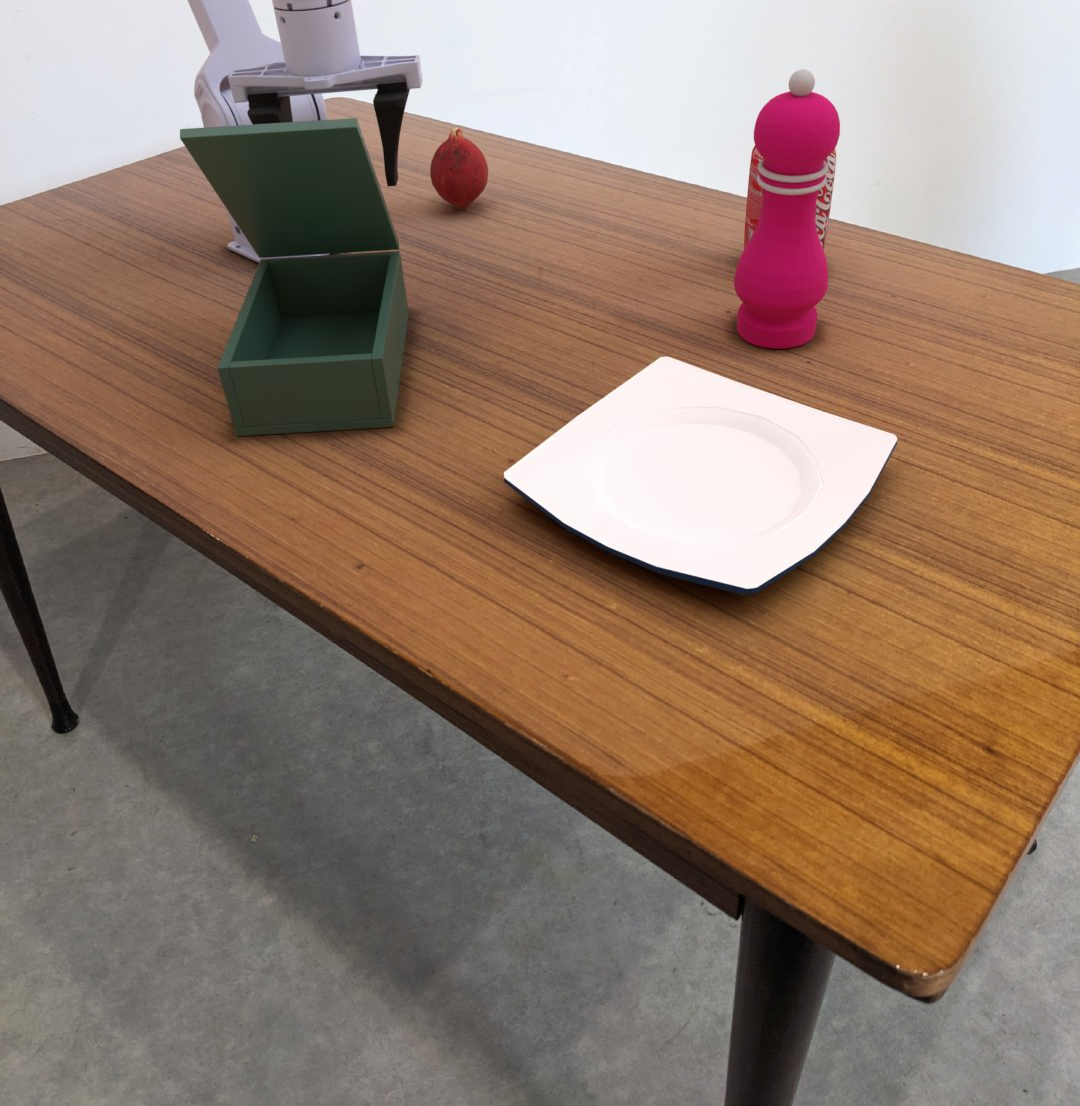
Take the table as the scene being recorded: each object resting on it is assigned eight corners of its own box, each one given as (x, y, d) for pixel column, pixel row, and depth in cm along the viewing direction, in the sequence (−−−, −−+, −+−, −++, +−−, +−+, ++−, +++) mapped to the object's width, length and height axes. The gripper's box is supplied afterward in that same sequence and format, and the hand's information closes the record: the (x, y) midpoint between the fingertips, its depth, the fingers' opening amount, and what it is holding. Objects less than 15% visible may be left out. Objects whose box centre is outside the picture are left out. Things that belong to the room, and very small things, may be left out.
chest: (393, 427, 77) (382, 357, 73) (236, 436, 77) (216, 367, 73) (409, 314, 90) (399, 250, 87) (275, 322, 91) (260, 258, 87)
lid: (357, 127, 68) (354, 63, 69) (179, 138, 68) (179, 74, 69) (399, 249, 86) (397, 198, 87) (259, 258, 86) (258, 207, 87)
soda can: (817, 249, 96) (835, 114, 88) (826, 285, 91) (845, 144, 83) (739, 250, 97) (750, 116, 89) (743, 285, 91) (754, 145, 84)
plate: (659, 377, 81) (660, 346, 79) (912, 467, 70) (920, 434, 68) (482, 510, 69) (479, 477, 67) (755, 642, 59) (759, 607, 57)
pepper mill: (821, 355, 82) (858, 86, 69) (727, 350, 83) (747, 85, 70) (821, 311, 87) (856, 54, 74) (733, 307, 88) (752, 54, 75)
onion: (489, 218, 105) (482, 137, 100) (432, 221, 105) (422, 140, 100) (492, 196, 109) (486, 117, 104) (437, 198, 110) (428, 120, 105)
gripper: (202, 22, 74) (249, 210, 83) (405, 5, 74) (431, 196, 83) (223, 1, 80) (265, 179, 88) (412, -15, 80) (436, 165, 88)
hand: (346, 185), depth 86 cm, fingers open, 7 cm apart
